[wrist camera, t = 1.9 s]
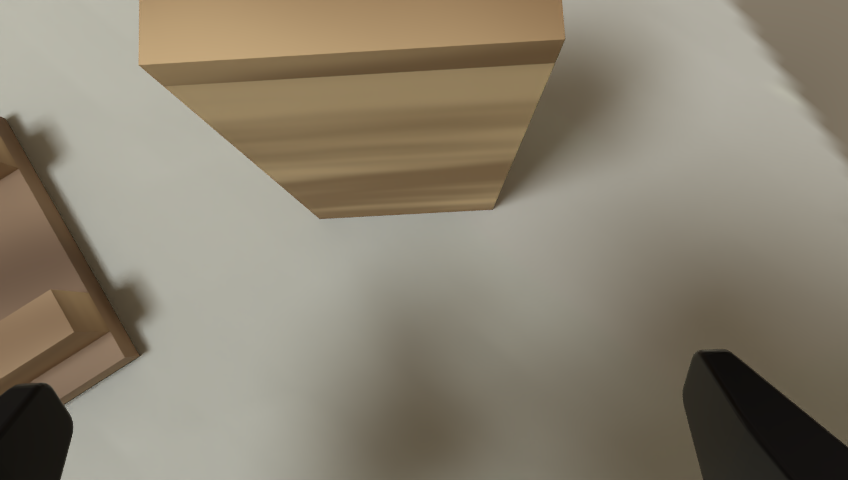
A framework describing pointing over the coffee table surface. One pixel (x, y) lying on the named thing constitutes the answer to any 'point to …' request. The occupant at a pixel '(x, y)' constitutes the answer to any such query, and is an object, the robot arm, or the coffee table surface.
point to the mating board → (48, 291)
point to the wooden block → (362, 92)
